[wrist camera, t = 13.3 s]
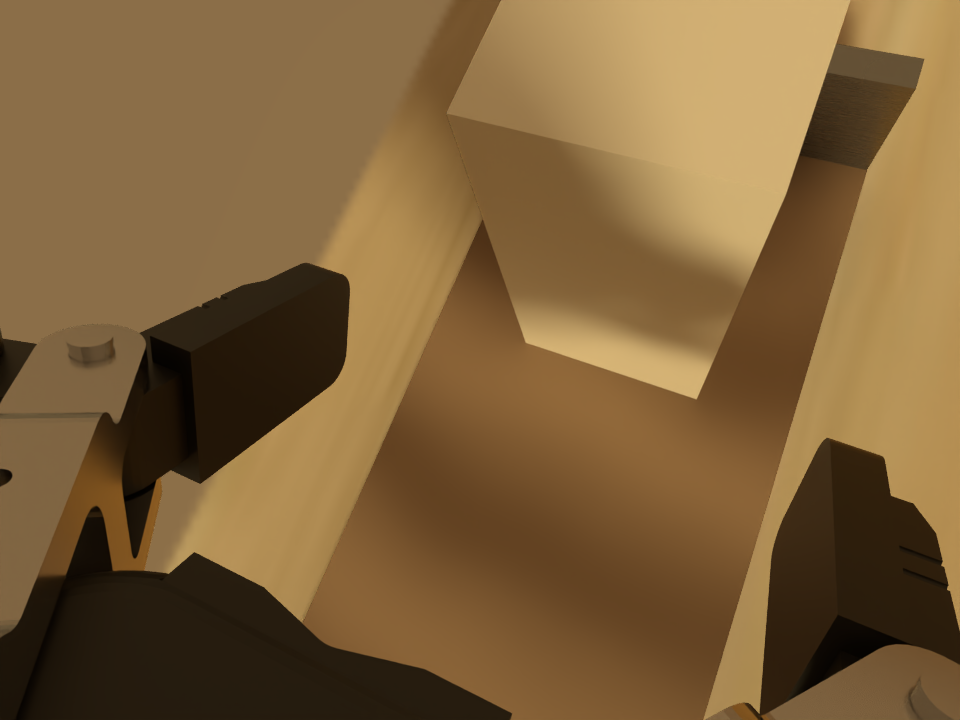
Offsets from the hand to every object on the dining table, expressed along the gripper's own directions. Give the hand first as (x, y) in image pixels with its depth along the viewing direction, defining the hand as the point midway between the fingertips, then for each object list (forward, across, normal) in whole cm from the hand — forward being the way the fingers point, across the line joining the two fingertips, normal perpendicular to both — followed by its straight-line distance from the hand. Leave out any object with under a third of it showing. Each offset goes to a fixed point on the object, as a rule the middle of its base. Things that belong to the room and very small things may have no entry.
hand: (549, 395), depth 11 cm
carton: (+8, 0, 0) cm, 8 cm away
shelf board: (+4, 0, +6) cm, 7 cm away
